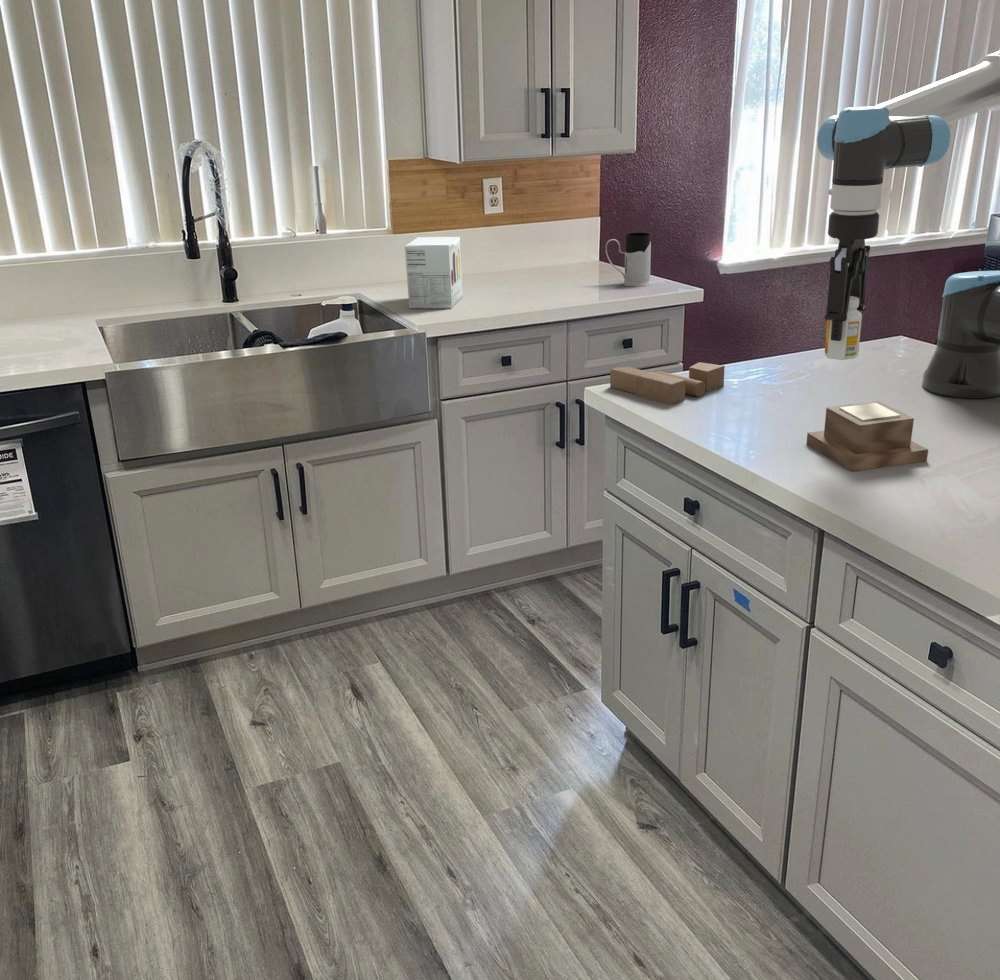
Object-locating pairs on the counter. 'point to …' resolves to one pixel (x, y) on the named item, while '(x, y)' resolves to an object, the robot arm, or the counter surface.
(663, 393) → the wooden block set
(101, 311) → the counter surface
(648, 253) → the glass holder
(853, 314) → the supplement bottle
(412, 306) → the supplement box
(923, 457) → the plinth
